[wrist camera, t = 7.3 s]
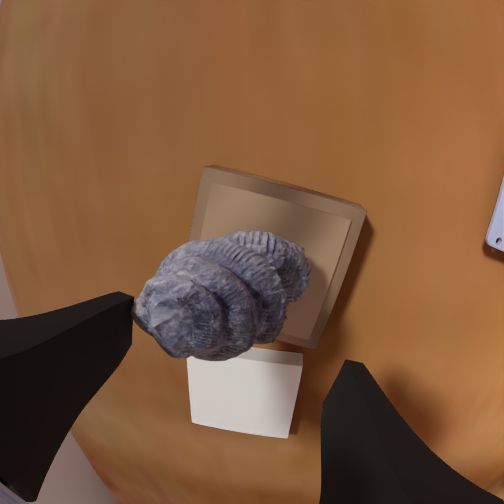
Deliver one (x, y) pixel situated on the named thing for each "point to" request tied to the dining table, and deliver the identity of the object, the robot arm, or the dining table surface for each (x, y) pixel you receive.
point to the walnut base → (285, 235)
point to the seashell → (222, 294)
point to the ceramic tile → (246, 391)
